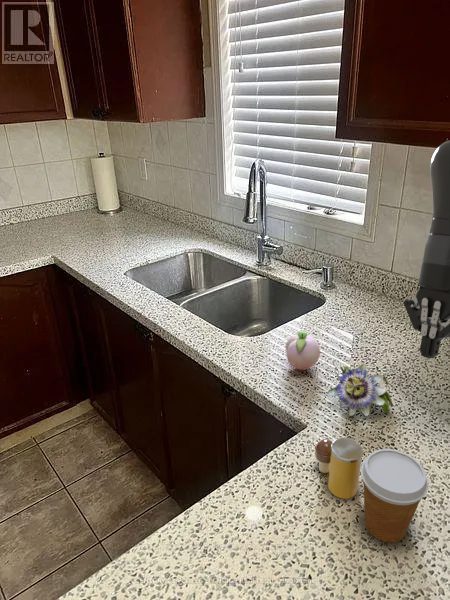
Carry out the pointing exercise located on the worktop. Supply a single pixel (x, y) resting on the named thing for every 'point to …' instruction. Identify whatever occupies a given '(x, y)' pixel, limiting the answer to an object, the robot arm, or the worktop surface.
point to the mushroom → (323, 454)
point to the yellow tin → (344, 467)
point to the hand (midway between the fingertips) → (427, 356)
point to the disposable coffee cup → (391, 492)
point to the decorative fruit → (302, 351)
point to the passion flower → (360, 390)
